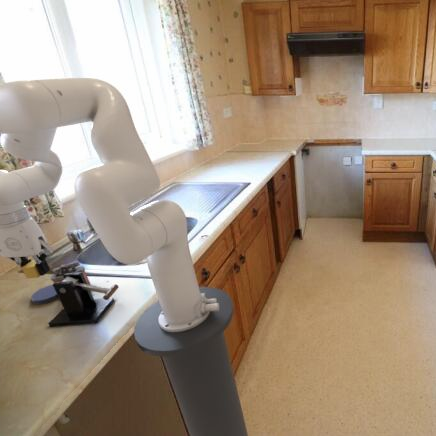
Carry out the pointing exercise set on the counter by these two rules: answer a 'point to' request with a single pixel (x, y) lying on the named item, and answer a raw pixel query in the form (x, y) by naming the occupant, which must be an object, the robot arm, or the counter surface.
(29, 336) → the counter surface
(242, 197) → the counter surface
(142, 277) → the counter surface
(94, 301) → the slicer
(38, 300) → the dish
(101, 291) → the lever
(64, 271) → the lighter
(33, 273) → the butter
